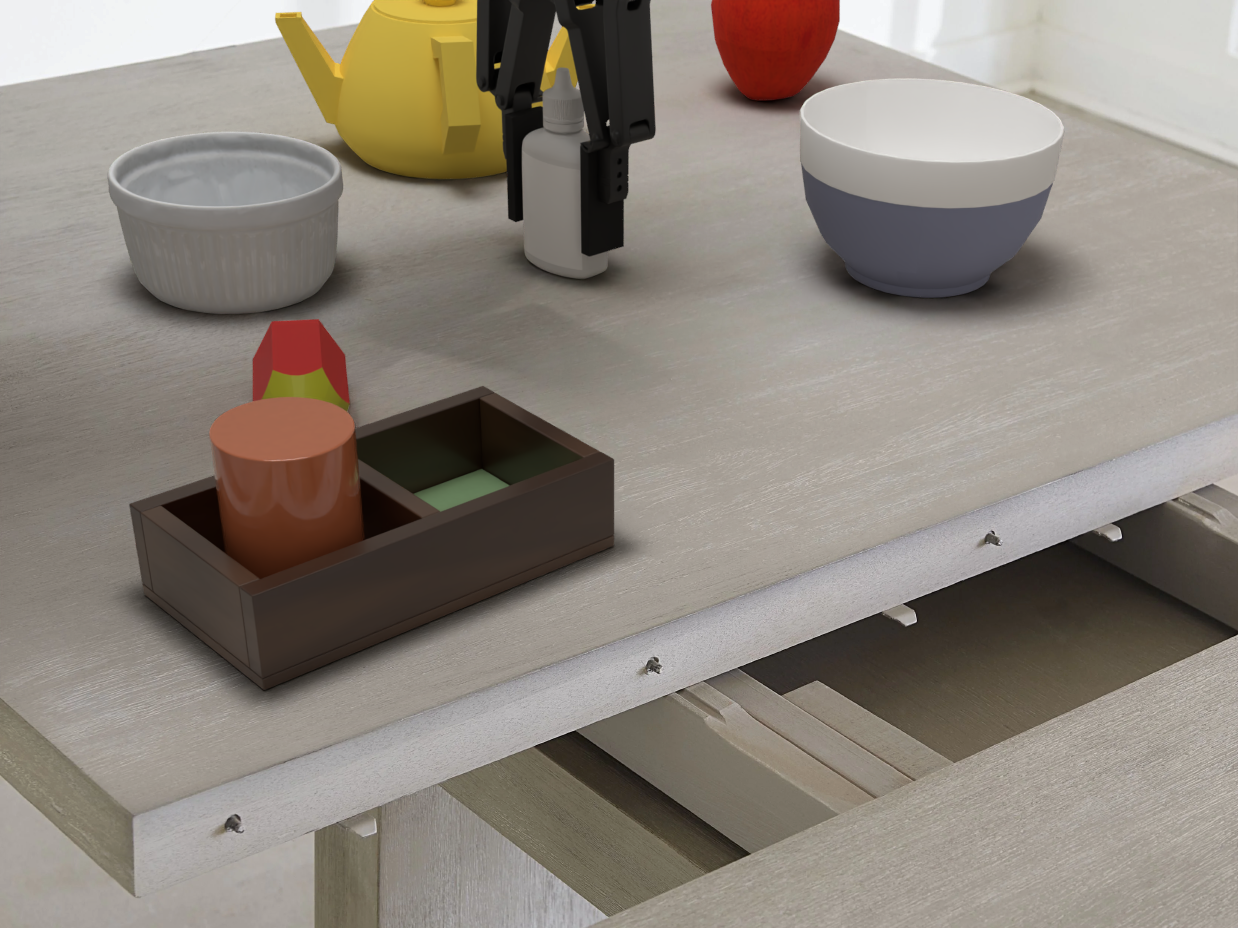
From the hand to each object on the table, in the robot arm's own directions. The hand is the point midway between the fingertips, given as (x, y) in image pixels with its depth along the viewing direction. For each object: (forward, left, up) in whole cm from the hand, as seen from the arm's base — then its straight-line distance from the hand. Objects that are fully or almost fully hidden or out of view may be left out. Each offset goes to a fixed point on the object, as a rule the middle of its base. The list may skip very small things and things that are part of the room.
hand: (565, 231), depth 117 cm
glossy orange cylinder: (+24, -34, -2) cm, 41 cm away
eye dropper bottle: (0, 0, -2) cm, 2 cm away
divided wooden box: (+24, -30, -2) cm, 38 cm away
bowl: (+14, +17, -2) cm, 22 cm away
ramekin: (-10, -17, -2) cm, 20 cm away
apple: (-17, +34, -2) cm, 38 cm away
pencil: (+10, -26, -2) cm, 28 cm away
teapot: (-22, +7, -2) cm, 23 cm away
